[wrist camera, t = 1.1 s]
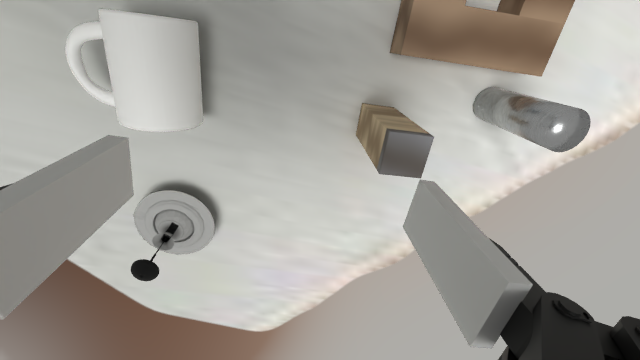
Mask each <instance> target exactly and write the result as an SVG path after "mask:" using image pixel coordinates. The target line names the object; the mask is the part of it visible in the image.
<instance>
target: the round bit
mask: <svg viewBox="0 0 640 360" xmlns="http://www.w3.org/2000/svg"><path fill="white" fill-rule="evenodd" d="M473 111H474V114H475V115H476V116H477V117H478V118H480V119H482V120H484V121H486V122H489V123H491V124H493V125H495V126H498V127H500V128H502V129H504V130H507V131H509V132H511V133H513V134H516V135H518V136H520V137H522V138H525V139H527V140H529V141H531V142H534V143H536V144H538V145H540V146H543V147H545V148H547V149H549V150H552V151H554V152H564V151H567V150H570V149H572V148H574V147H575V146H577V145H578V144H579V143H580V142H581V141H582V140H583V139H584V138H585V136H586V135H587V133H588V131H589V128H590V117H589V115H588V113H587V112H586V111H584V110H582V109H579V108H575V107H571V106H567V105H563V104H559V103H555V102H551V101H547V100H543V99H539V98H535V97H531V96H527V95H523V94H519V93H515V92H512V91H508V90H504V89H500V88H496V87H490V88H487V89H485V90H483V91H482V92H480V93H479V94H478V95H477V97H476V99H475V101H474V103H473Z"/></svg>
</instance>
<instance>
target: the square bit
mask: <svg viewBox="0 0 640 360" xmlns="http://www.w3.org/2000/svg"><path fill="white" fill-rule="evenodd" d="M356 136H357V137H358V139H359V141H360V142H361V144H362V146H363V147H364V149H365V151H366V152H367V154H368V156H369V157H370V159H371V161H372V162H373V164H374V166H375V167H376V169H377V171H378V172H379V174H385V175H395V176H404V177H414V178H421V176H422V173H423V170H424V167H425V164H426V161H427V157H428V154H429V151H430V148H431V145H432V142H433V139H434V137H433V136H432V135H431V134H429V133H428V132H427V131H425V130H424V129H422V128H421V127H420V126H418V125H417V124H416V123H414V122H413V121H411V120H410V119H409V118H407V117H406V116H405V115H403V114H402V113H400V112H399V111H398V110H396V109H395V108H394V107H386V106H379V105H371V104H364V103H362V107H361V112H360V117H359V122H358V127H357V132H356Z"/></svg>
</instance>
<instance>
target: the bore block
mask: <svg viewBox="0 0 640 360" xmlns="http://www.w3.org/2000/svg"><path fill="white" fill-rule="evenodd" d="M574 2H575V0H501V1H500V4H499V7H498V10H497V11H491V10H486V9H480V8H475V7H469V6H465V3H466V0H401V5H400V9H399V14H398V18H397V23H396V27H395V32H394V36H393V41H392V45H391V50H390V53H394V54H400V55H407V56H413V57H420V58H426V59H432V60H439V61H445V62H451V63H458V64H464V65H471V66H477V67H483V68H490V69H496V70H503V71H509V72H515V73H522V74H528V75H535V76H542V74H543V72H544V70H545V67H546V65H547V63H548V60H549V58H550V56H551V54H552V51H553V49H554V47H555V45H556V42H557V40H558V38H559V36H560V33H561V31H562V29H563V26H564V24H565V22H566V20H567V17H568V15H569V13H570V11H571V8H572V6H573V4H574Z"/></svg>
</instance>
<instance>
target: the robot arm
mask: <svg viewBox="0 0 640 360" xmlns="http://www.w3.org/2000/svg"><path fill="white" fill-rule="evenodd" d="M133 195H134V193H133V182H132V172H131V162H130V151H129V141H128V138H125V137H119V136H112V135H108V136H106V137H104V138H102V139H100V140H98V141H96V142H94V143H92V144H90V145H88V146H86V147H84V148H82V149H80V150H78V151H76V152H74V153H72V154H70V155H68V156H66V157H65V158H63V159H61V160H59V161H57V162H55V163H53V164H51V165H49V166H47V167H45V168H43V169H41V170H39V171H37V172H35V173H33V174H31V175H29V176H27V177H25V178H23V179H21V180H19V181H17V182H15V183H13V184H10V185H7V186H3V187H0V319H4V318H5V317H6V316H7V315H8V314H9V313H10V312H12V311H13V310H14V308H16V307H17V306H18V305H19V304H20V303H21V302H22V301H23V300H24V299H25V298H26V297H27V296H28V295H29V294H30V293H31V292H32V291H34V290H35V289H36V288H37V287H38V286H39V285H40V284H41V283H42V282H43V281H44V280H45V279H46V278H47V277H48V276H49V275H50V274H51V273H52V272H53V271H54V270H56V269H57V268H58V267H59V266H60V265H61V264H62V263H63V262H64V261H65V260H66V259H67V258H68V257H69V256H70V255H71V254H72V253H73V252H74V251H75V250H77V249H78V248H79V247H80V246H81V245H82V244H83V243H84V242H85V241H86V240H87V239H88V238H89V237H90V236H91V235H92V234H93V233H94V232H95V231H96V230H98V229H99V228H100V227H101V226H102V225H103V224H104V223H105V222H106V221H107V220H108V219H109V218H110V217H111V216H112V215H113V214H114V213H115V212H116V211H117V210H118V209H120V208H121V207H122V206H123V205H124V204H125V203H126V202H127V201H128V200H129V199H130V198H131V197H132V196H133ZM403 228H404V230H405V232H406V233H407V235H408V237H409V239H410V240H411V242H412V244H413V246H414V248H415V249H416V251H417V253H418V255H419V257H420V258H421V260H422V262H423V264H424V265H425V267H426V269H427V271H428V273H429V274H430V276H431V278H432V280H433V281H434V283H435V285H436V287H437V289H438V291H439V292H440V294H441V296H442V298H443V299H444V301H445V303H446V305H447V306H448V308H449V310H450V312H451V314H452V315H453V317H454V319H455V321H456V323H457V325H458V326H459V328H460V330H461V332H462V333H463V335H464V337H465V339H466V340H467V342H468V344H469V346H470V347H478V348H492V347H493V346H494V344H495V342H496V341H497V340H498V338H499V336H500V335H501V336H502V338H503V339H504V341H505V342H506V344H507V345H508V346H507V347H506V349H505V350H504V352H503V353H502V355H501V356H500V358H499V359H498V360H640V319H637V318H633V317H629V316H626V317H622V318H621V319H620V320H619V322H618V323H617V324H616V325H615V326H614V327H611V326H608V325H605V324H602V323H599V322H596V321H594V319H593V317H592V316H591V315H590V314H589V313H588V312H587V311H586V310H584V309H583V308H582V307H581V306H579V305H578V304H577V303H575V302H573V301H572V300H570V299H568V298H566V297H564V296H561V295H559V294H556V293H550V292H547V293H546V292H545V291H544V290H543V289H542V288H541V287H540V286H539V285H538V284H537V283H536V282H535V281H534V280H533V279H532V278H531V276H529V274H528V273H527V272H526V271H524V269H523V268H522V267H521V266H518V263H517V262H516V261H515V260H514V259H513V258H511V256H510V255H509V254H508V253H507V252H506V251H505V250H504V249H503V248H502V247H501V246H500V245H498V244H497V243H495V242H494V241H492V240H491V239H489V238H488V237H487V236H486V235H485V234H484V233H483V232H482V231H481V230H480V229H479V228H478V227H477V226H476V225H475V224H474V223H473V221H472V220H470V218H469V217H468V216H467V215H466V214H465V213H464V212H463V211H462V210H461V209H460V208H459V207H458V206H457V205H456V204H455V203H454V202H453V200H452V199H451V198H450V197H449V196H448V195H447V194H446V193H445V192H444V191H443V190H442V189H441V188H440V187H439V186H438V185H437V184H436V183H435V182H433V181H426V180H420V181H419V184H418V186H417V189H416V192H415V195H414V197H413V200H412V203H411V206H410V208H409V211H408V214H407V217H406V220H405V222H404V225H403Z"/></svg>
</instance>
